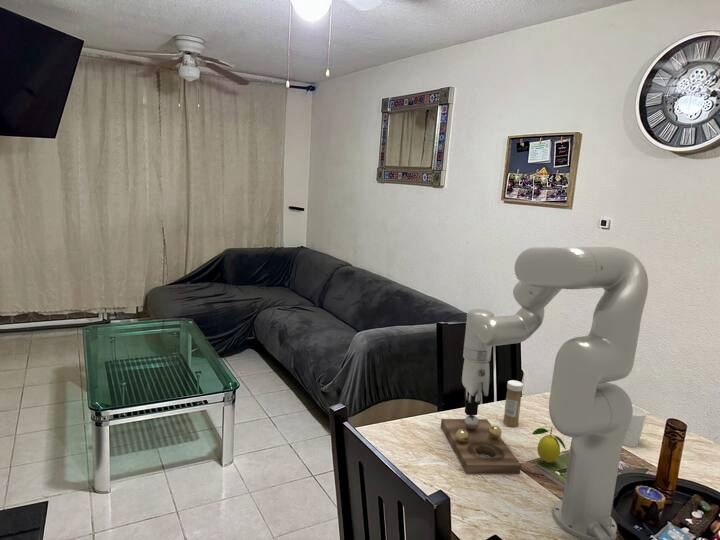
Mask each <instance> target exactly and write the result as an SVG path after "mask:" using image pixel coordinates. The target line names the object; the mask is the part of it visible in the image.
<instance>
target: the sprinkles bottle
mask: <svg viewBox="0 0 720 540" xmlns="http://www.w3.org/2000/svg"><path fill="white" fill-rule="evenodd" d="M506 389H507V390H506V397H505V403H504V416H503V421H502V423H503V424H504V425H505V426H506V427H510V428H516V427H519V421H520V420H519V418H520V413H521V412H520V411H521V400H522V393H523V389H524V384H523V382H521V381H518V380H514V379H511V380H508V381H507V384H506Z"/></svg>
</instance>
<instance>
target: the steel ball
mask: <svg viewBox="0 0 720 540" xmlns="http://www.w3.org/2000/svg"><path fill="white" fill-rule="evenodd" d="M464 419H465V422H464V423H465V426H466V427H467V428H468V429H470V430H474V429H476V428H477V427H478V425H479V421H478V419H479V418H478V417H477V416H476V415H466V417H465V418H464Z"/></svg>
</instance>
